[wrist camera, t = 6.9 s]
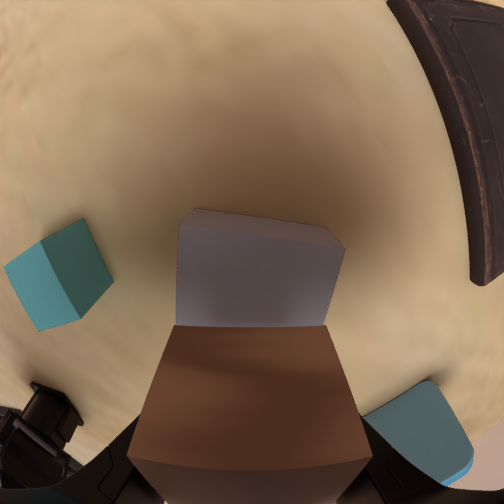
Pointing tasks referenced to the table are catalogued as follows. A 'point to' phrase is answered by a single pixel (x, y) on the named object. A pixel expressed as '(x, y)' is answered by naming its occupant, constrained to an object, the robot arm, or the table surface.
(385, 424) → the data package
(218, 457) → the walnut cube
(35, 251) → the teal cube
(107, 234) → the table surface
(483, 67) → the hardcover book
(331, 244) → the slate base block
